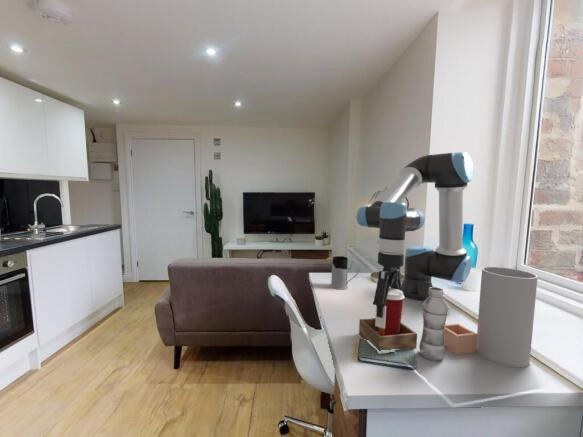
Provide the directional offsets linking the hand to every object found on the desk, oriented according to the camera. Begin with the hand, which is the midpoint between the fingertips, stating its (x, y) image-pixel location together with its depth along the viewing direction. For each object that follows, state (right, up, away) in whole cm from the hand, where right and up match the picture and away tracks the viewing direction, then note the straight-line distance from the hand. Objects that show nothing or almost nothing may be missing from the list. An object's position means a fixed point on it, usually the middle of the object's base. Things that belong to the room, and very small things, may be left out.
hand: (387, 319), depth 89 cm
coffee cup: (+1, -7, +2) cm, 7 cm away
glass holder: (-3, -3, +54) cm, 54 cm away
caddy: (0, -7, +1) cm, 7 cm away
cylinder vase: (+31, -9, -6) cm, 33 cm away
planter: (+20, -8, -3) cm, 22 cm away
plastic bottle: (+10, -8, -8) cm, 15 cm away
